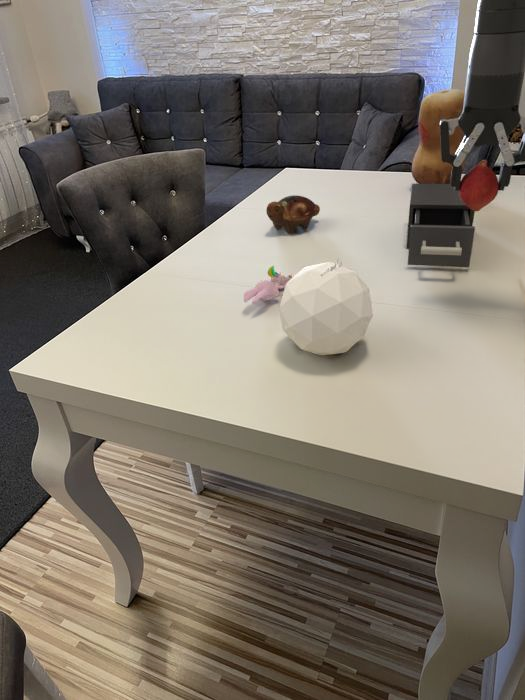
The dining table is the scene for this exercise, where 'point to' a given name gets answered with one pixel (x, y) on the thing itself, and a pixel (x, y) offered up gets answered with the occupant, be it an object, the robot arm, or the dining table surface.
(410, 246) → the drawer
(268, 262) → the dining table surface
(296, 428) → the dining table surface
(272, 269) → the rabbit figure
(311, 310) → the geodesic sphere
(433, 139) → the butternut squash
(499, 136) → the robot arm
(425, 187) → the cabinet
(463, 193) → the onion
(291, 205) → the decorative turtle
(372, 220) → the dining table surface
